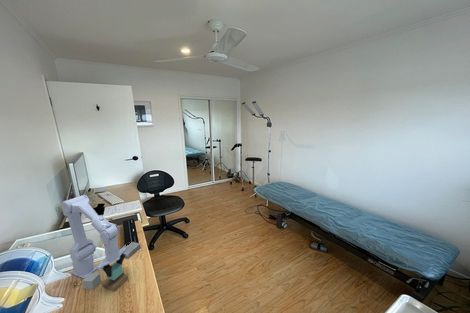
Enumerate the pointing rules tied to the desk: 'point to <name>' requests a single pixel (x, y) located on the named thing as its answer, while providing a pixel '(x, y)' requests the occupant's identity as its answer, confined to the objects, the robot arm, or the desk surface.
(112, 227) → the robot arm
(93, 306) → the desk surface
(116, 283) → the walnut base block
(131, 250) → the stone block
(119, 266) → the teal cube
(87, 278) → the grey cube
